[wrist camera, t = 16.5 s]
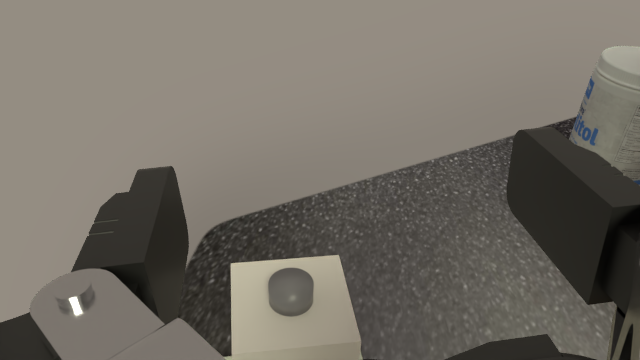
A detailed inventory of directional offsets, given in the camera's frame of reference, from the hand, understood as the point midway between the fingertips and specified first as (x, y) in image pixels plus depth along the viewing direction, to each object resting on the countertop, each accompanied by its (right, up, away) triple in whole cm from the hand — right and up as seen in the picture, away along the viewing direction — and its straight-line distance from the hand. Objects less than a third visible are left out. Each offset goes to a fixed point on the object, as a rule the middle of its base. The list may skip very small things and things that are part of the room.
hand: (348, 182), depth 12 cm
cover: (-3, -16, +23) cm, 28 cm away
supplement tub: (+34, 0, +52) cm, 62 cm away
